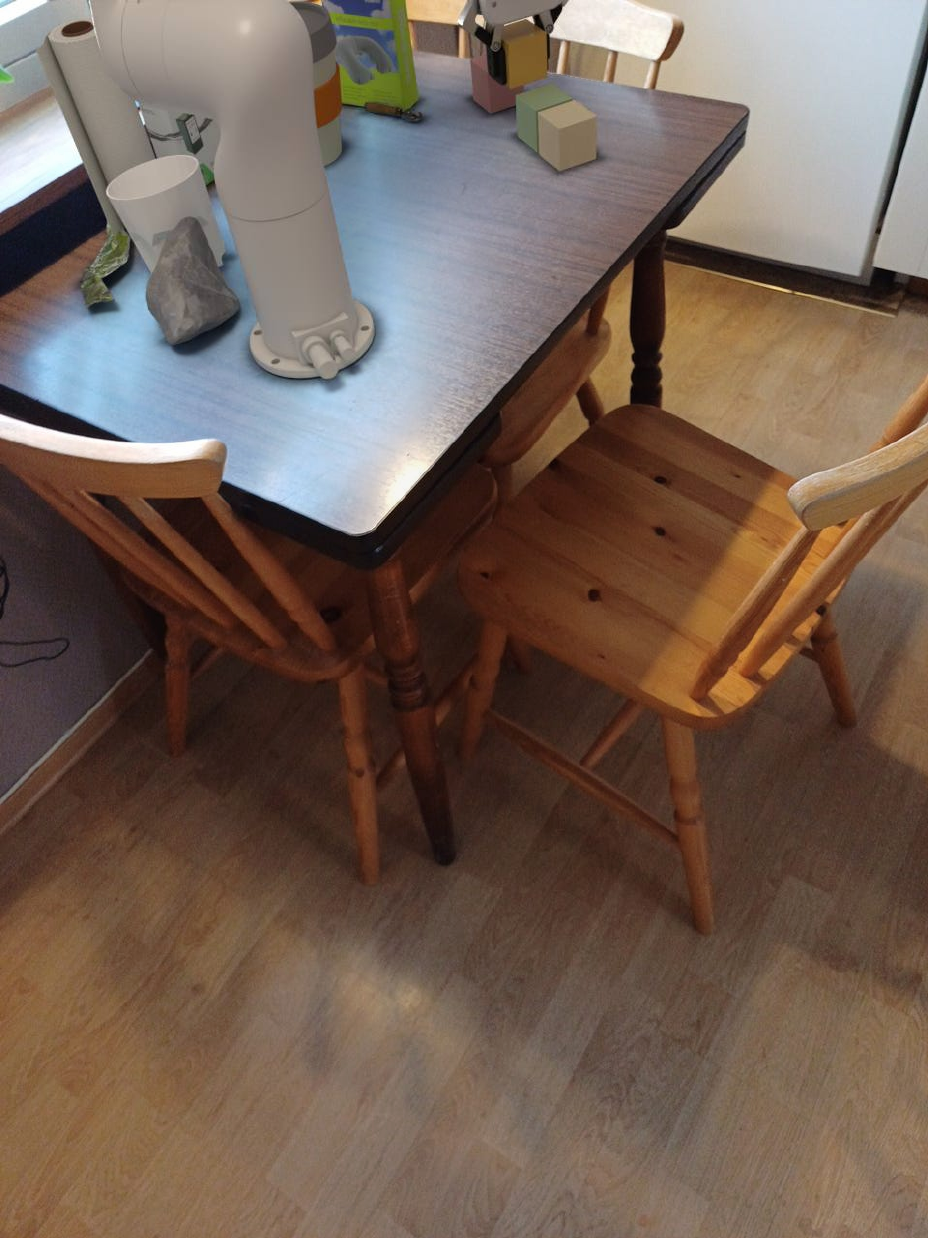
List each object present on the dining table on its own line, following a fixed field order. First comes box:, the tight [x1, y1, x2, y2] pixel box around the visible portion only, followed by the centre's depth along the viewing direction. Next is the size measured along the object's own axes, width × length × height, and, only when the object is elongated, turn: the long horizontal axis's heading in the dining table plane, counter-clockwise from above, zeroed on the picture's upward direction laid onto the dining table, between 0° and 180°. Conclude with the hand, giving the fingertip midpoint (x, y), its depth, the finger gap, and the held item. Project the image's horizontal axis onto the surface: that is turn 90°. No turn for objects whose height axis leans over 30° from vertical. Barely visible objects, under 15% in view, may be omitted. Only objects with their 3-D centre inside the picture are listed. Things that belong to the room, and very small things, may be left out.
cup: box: [106, 155, 227, 275], centre depth 102 cm, size 10×10×10 cm
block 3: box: [538, 99, 598, 173], centre depth 111 cm, size 5×5×5 cm
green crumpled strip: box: [79, 220, 132, 309], centre depth 109 cm, size 6×25×2 cm, turn 178°
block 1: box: [469, 53, 525, 115], centre depth 121 cm, size 5×5×5 cm
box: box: [320, 0, 419, 111], centre depth 120 cm, size 10×4×17 cm, turn 63°
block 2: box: [515, 82, 574, 154], centre depth 114 cm, size 5×5×5 cm
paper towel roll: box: [35, 16, 157, 238], centre depth 104 cm, size 7×6×21 cm
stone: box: [144, 216, 240, 346], centre depth 97 cm, size 12×11×10 cm
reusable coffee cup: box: [288, 0, 343, 167], centre depth 114 cm, size 12×13×15 cm
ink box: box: [137, 102, 220, 186], centre depth 114 cm, size 9×5×12 cm, turn 146°
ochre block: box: [501, 18, 548, 89], centre depth 114 cm, size 5×5×5 cm
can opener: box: [363, 102, 423, 122], centre depth 123 cm, size 9×2×1 cm, turn 56°
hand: (519, 72), depth 116 cm, fingers closed on ochre block, 5 cm apart
